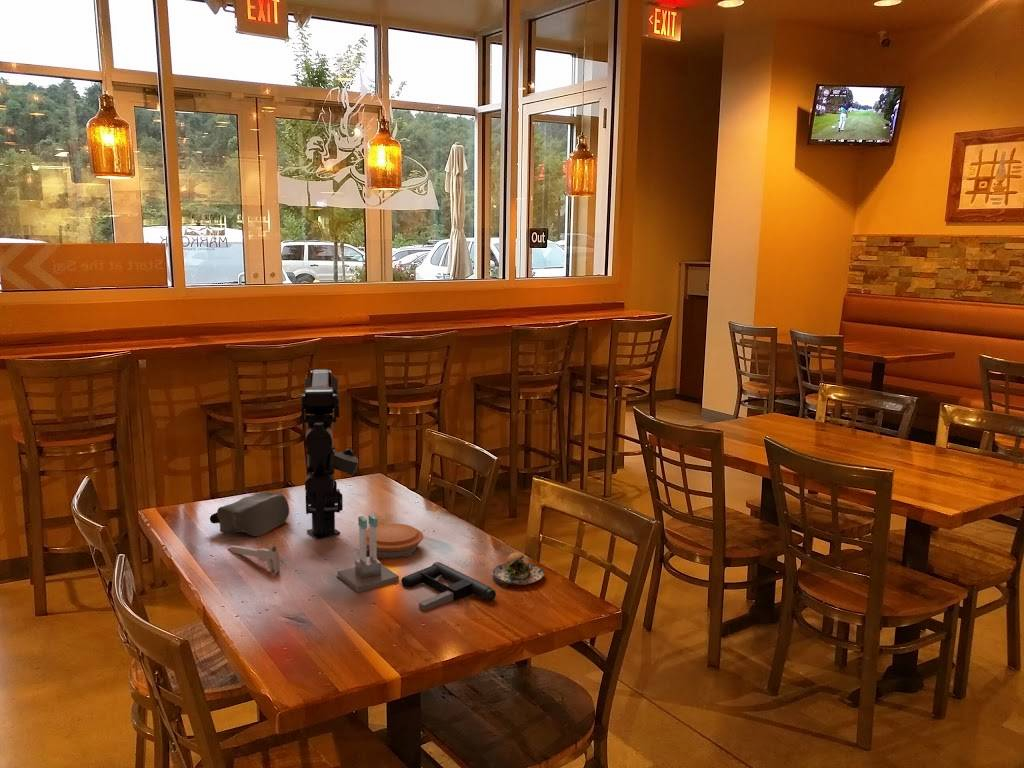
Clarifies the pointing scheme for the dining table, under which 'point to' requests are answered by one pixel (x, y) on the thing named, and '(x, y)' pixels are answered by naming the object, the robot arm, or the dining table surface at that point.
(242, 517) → the grey jug on side
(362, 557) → the block with twin posts
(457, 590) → the toy submachine gun
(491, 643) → the dining table surface
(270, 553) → the caliper
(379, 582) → the plate
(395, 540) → the pie
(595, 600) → the dining table surface
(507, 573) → the burger
